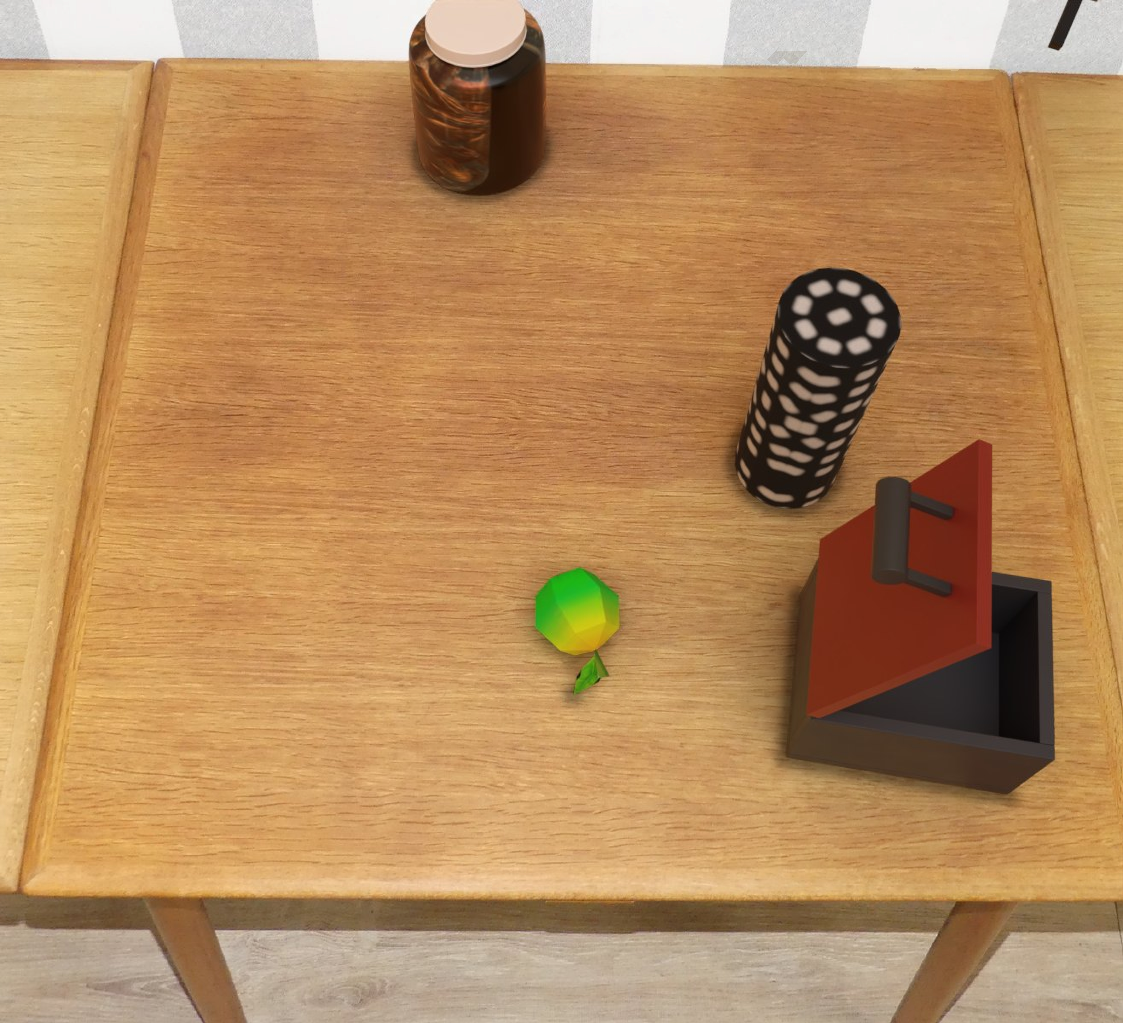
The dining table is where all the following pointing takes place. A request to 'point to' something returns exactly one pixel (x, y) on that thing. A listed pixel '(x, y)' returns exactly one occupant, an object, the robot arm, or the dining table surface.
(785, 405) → the spotted tube
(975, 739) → the dark storage box
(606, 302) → the dining table surface
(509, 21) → the jar
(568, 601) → the apple
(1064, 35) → the robot arm
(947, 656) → the lid
